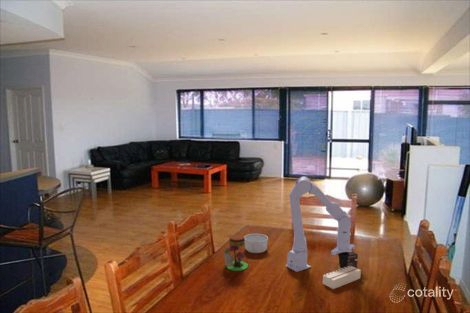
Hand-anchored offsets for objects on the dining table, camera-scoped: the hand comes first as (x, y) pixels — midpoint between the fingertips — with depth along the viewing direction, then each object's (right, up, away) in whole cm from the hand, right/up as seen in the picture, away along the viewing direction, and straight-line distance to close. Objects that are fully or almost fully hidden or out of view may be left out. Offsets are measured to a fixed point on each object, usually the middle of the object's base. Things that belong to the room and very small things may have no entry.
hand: (342, 266), depth 182 cm
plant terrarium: (-51, -2, +5) cm, 51 cm away
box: (+3, -1, +3) cm, 4 cm away
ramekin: (-40, +1, +26) cm, 48 cm away
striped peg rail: (-4, -3, -12) cm, 13 cm away
